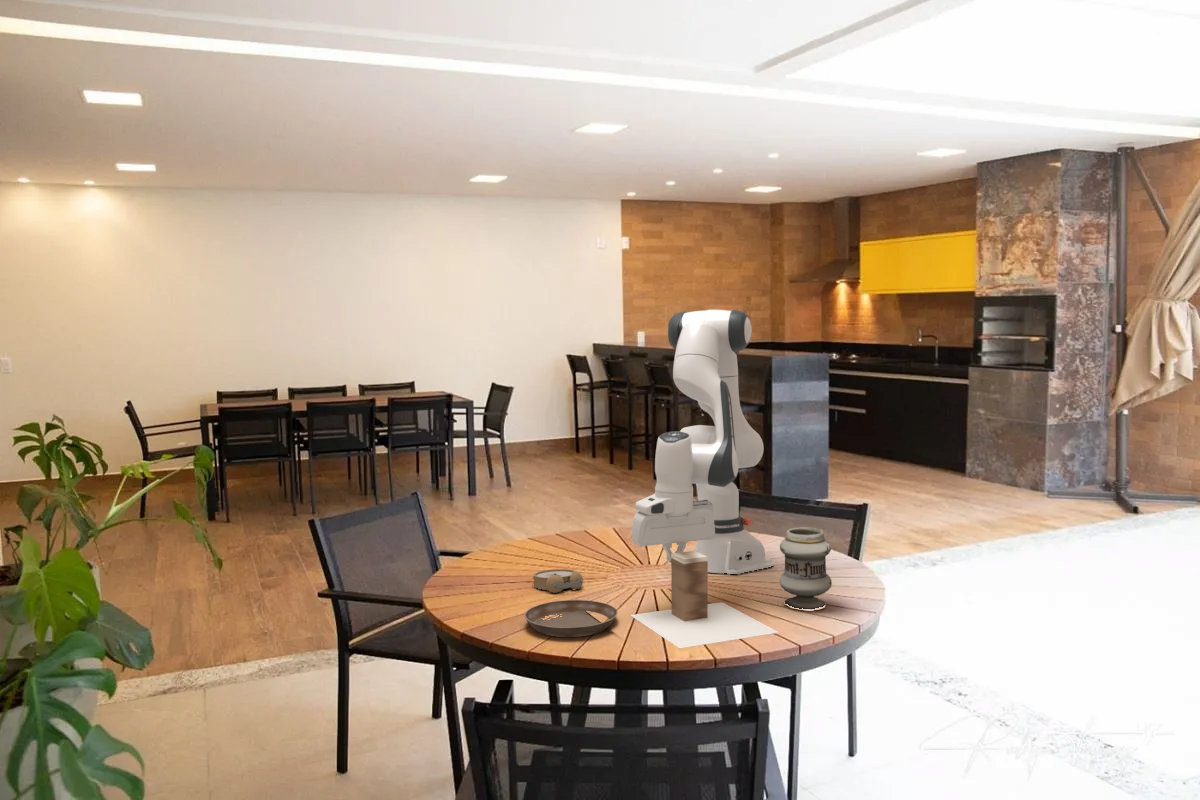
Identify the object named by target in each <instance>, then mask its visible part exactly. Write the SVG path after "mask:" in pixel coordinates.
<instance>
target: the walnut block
mask: <svg viewBox="0 0 1200 800" xmlns="http://www.w3.org/2000/svg"><path fill="white" fill-rule="evenodd" d="M670 563H671V564H670V565H671V572H670V573H671V575H670V576H671V589H670V590H671V594H670V595H671V609H672V614H673V615H674V616H676V617H678V618H679V619H681V620H683V621H690V620H696V619H703V618H708V604H709V603H708V598H709V597H708V596H709V595H708V586H709V583H708V578H709V577H708V575H709V574H708V573H709V572H708V557H707V556H705V555H703V554H701V553H698V552H696V550H690V551H683V552H680V553H675V552H672V553H671V562H670Z"/></svg>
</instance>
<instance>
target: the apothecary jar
mask: <svg viewBox="0 0 1200 800" xmlns="http://www.w3.org/2000/svg"><path fill="white" fill-rule="evenodd" d="M779 549H780V552H781V553H782V554H783V555H784V572H783V573H782V574H781V575H780V578H779V584H780V587H781V588H782V589H783V590H784V591H786V592H787V593H789V594H791V595H794V596H792V597H789V598H787V599H785V600H784V602H785V604H788V605H789V606H792V607H794V608H799V609H802V608H803V609H815V608H819V607H823V606H824V605H825V603H826V602H825V601H824V600H822V599H820V598H818V596H821V595H823V594H825V593H827V592H828V591H829V590H830V589H831V588H832V585H833V583H832V578H831V576H829V574H827V565H826V563H827V561H826V557H827V556H828V555H829V554H830V553H831V551H832V550H831V549H832V546H831V544H830V542H829V541H828V540H827V539H825V535H824V530H822V529H820V528H816V527H793V528H789V529H787V531H786V535H785V538H783V539H782V541H781V542H780V544H779Z"/></svg>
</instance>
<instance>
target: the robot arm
mask: <svg viewBox="0 0 1200 800" xmlns="http://www.w3.org/2000/svg"><path fill="white" fill-rule="evenodd" d="M666 332H667V338H668V339H667V340H668V343H669V345H670V346H671V347H672V348H673V349H674V350H675V354H674V360H673V367H672V379H673V382H674V384H675V386H676V388H677V389H678V390H679V391H680V392H681V393H682V394H683V395H685V396H687V397H689V398H690V399H691V400H695V401H697V404H698V406H699V407H700V408H701V410H703V412H705V413H707V414H708V415H709V416H710V417H711V419H712V421H713V424H714V425H705V424H704V425H703V424H697V425H691V426H685V427H683V428H681V430H680V431H679V430H678V431H677V430H675V431H668V432H664V433H662V434H660V435H659V436H658V438H657V441H656V449H655V458H654V472H655V477H656V483H655V487H654V493H653V494H651V495H649V496H647V497H644V498H642V499H640V500H638V501H636V502H635V507H634V508H635V510H636V511H637V512H636V513H635V514H634V516H633V520H632V525H631V526H632V527H631V528H632V529H631V540H632V542H633V543H634V544H635V545H636V546H638V547H649V546H657V545H662V548H663V550H664V551H665V553H666V561H667V562H668V563H671V553H673V552H672V550H671V548H672V546H673V544H676V546H677V548H676V551H675V552H674V553H680V552H685V549H686V547H687V543H689V542H695V541H696V547H695V551H696V552H698V553H701V554H703V555H705V556H707V557H708V573H713V574H724V573H727V574H726V575H730V574H738V575H740V574H739V573H743V574H745V573H744V572H748V571H752V572H754V571H753V570H757V569H762V568H765V567H770V566H773V565H774V562H773V560H771V559H769V558H768V557H767V556H766V551H765V547H764V545H763V543H762V542H761V541H760V540H759V539H758V538H757V537H755V536H754V535H753V534H752V533H750V532H749V531H747V530H746V529H745V526H747V527H750V526H751V525H752V520H751V518H747V517H741V516H740V515H739V514H740V512H739V510H740V509H739V507H740V506H739V504H740V502H739V499H740V497H739V495H740V494H739V493H740V492H739V489H738V487H737V485H736V484H735V483H734V480H735V479H736V478H737V477H738V472H739V469H745V468H746V469H747V468H751V467H755V466H757V465H758V464H759V462H760V461H761V460H762V457H763V454H764V442H763V439H762V438H761V436H760V434H759V433H758V432H757V431H756V430H755V429H753V427H752V426H751V425H750V423H748V421H747V419H746V418H745V416H744V414H743V411H742V407H741V403H740V394H739V393H740V392H739V391H740V390H739V368H738V367H739V366H738V356H737V355H739V354H740V351H742V350H745V348H746V347H747V346H748V345H749V344H750V340H751V336H752V332H753V327H752V323H751V321H750V317H749V316H748V314H747V313H746V312H745V311H742V310H739V309H737V310H736V309H732V310H727V309H707V310H706V309H705V310H695V311H689V312H688V311H681V312H678V313H675V314H674V315H672V316H671V318H670V319H669V321H668V326H667V331H666ZM693 484H695V486H696V493H697V500H694V487H693ZM774 566H775V565H774ZM762 570H763V569H762ZM757 571H758V570H757ZM748 573H749V572H748Z"/></svg>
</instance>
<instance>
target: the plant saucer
mask: <svg viewBox="0 0 1200 800" xmlns="http://www.w3.org/2000/svg"><path fill="white" fill-rule="evenodd" d="M589 612H591V613H597V614H600V615H602V616H603V617H604V616H605V617H606V618H607V619H608V620H606V621H603V622H601V621H600V620H599V619H597V618H596V617H595V616H593V615H592V614H590V613H589ZM556 614H557V615H559V616H558V617H556V618H551V617H549V618H548V619H550V618H551V619H550V620H543V619H541V618H545V616H549V615H556ZM560 614H562V615H560ZM617 615H618V610H617V608H615V606H613V605H611V604H608V603H604V602H601V601H600V602H599V601H594V600H585V599H570V600H569V599H568V600H567V599H565V600H555V601H549V602H545V603H540V604H536V605H535V606H532V607H531V608H529V609H527V610H526V611H525V613H524V619H525V620H526V622H527V623H528V624H529V625H530V626H531V627H532V628H533V629H534V630H535V631H537V632H539V633H540V634H542V635H545V634H546V635H545V636H549V635H550V637H554V636H556V637H555V638H580V637H582V636H583V637H588V636H592V635H595V634H598V633H601V632H603V631H605V630H606V629H607V628H609V626H611V624H612V623H613V622H614V620H615V619H616V617H617ZM560 616H562V617H560ZM583 637H582V638H583Z"/></svg>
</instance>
